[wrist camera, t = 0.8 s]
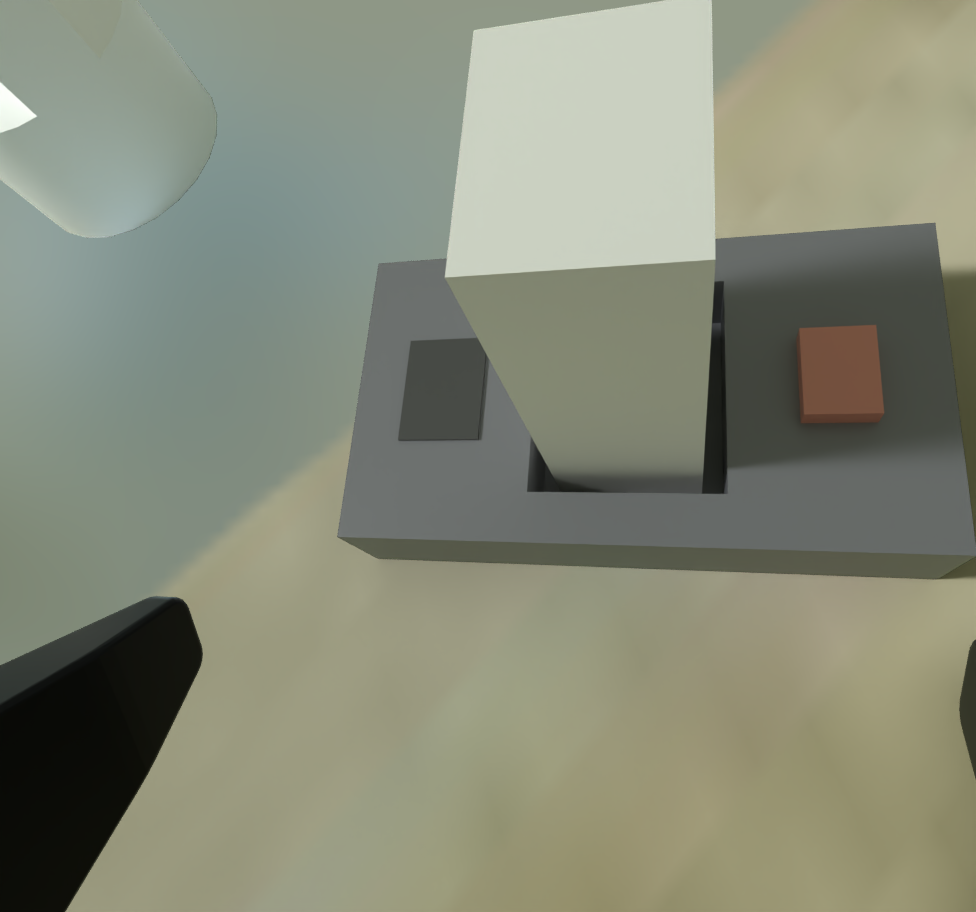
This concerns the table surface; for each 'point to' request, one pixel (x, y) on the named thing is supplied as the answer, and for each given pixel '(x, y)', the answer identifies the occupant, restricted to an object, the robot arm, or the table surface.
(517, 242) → the block
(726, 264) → the power strip
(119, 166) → the base with upright slab
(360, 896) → the table surface
